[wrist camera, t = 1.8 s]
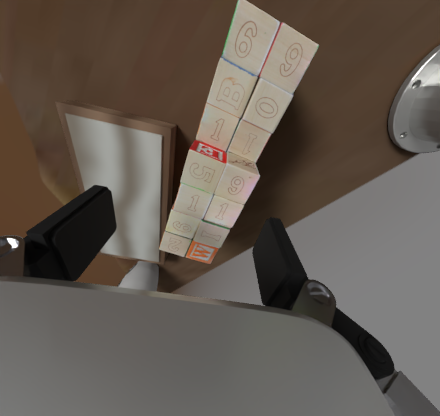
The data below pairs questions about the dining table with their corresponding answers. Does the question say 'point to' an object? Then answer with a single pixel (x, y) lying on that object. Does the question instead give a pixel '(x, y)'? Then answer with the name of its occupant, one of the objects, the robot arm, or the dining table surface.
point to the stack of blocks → (235, 129)
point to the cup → (142, 277)
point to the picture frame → (125, 172)
